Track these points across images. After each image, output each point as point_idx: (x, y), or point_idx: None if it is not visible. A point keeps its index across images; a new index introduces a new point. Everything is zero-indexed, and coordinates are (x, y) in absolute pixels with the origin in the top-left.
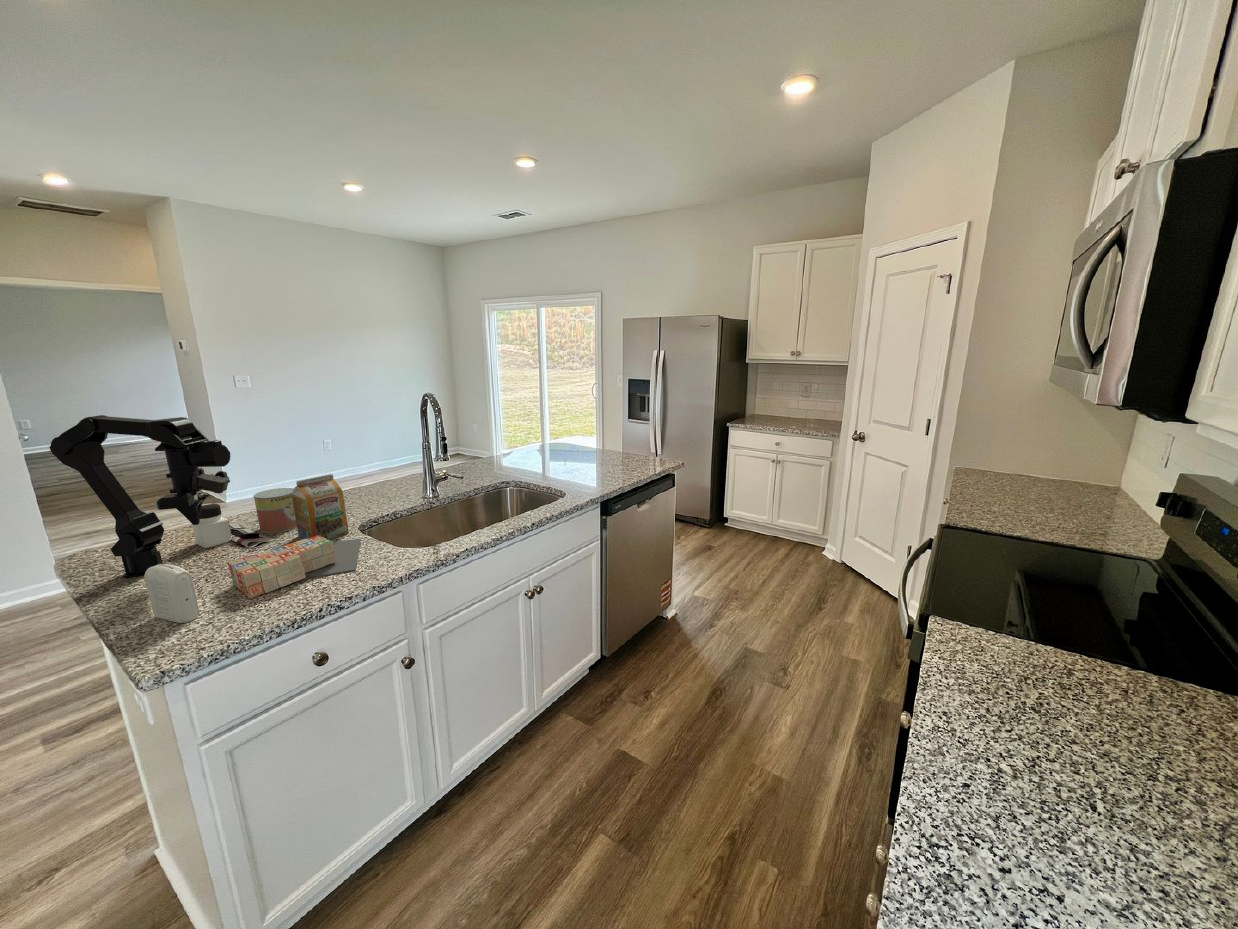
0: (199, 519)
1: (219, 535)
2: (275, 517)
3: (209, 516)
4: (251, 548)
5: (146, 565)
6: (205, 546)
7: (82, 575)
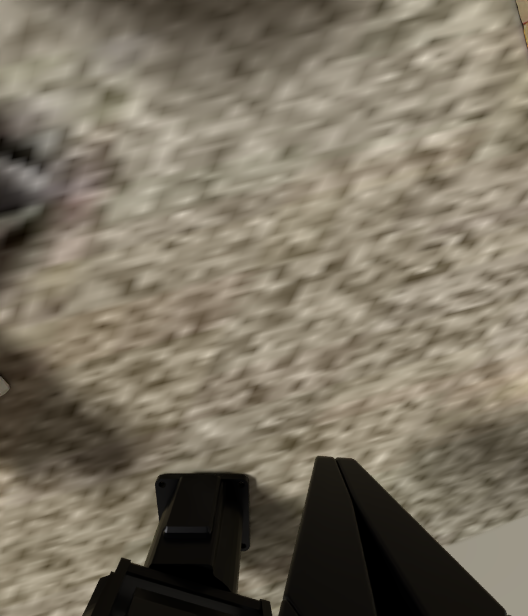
0: (327, 486)
1: None
2: None
3: None
4: (68, 182)
5: (232, 519)
6: (4, 389)
7: None
